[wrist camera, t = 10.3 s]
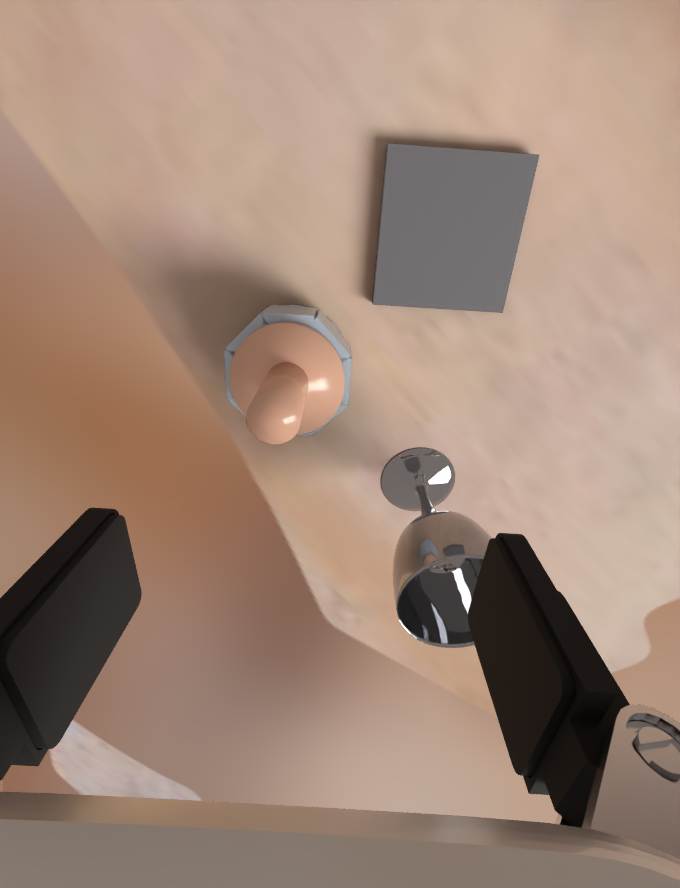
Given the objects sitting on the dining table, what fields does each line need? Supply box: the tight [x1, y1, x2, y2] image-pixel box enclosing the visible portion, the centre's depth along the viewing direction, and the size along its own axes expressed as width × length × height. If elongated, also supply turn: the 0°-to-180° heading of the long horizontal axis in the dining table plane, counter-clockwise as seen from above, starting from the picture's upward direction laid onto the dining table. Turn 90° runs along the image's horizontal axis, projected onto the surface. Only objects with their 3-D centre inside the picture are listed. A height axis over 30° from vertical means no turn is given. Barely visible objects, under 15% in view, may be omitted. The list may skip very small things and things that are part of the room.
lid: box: [230, 321, 345, 444], centre depth 25 cm, size 8×8×8 cm
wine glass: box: [381, 448, 492, 648], centre depth 32 cm, size 8×8×15 cm
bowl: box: [224, 305, 352, 436], centre depth 31 cm, size 9×9×5 cm
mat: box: [372, 143, 539, 313], centre depth 29 cm, size 10×10×1 cm
